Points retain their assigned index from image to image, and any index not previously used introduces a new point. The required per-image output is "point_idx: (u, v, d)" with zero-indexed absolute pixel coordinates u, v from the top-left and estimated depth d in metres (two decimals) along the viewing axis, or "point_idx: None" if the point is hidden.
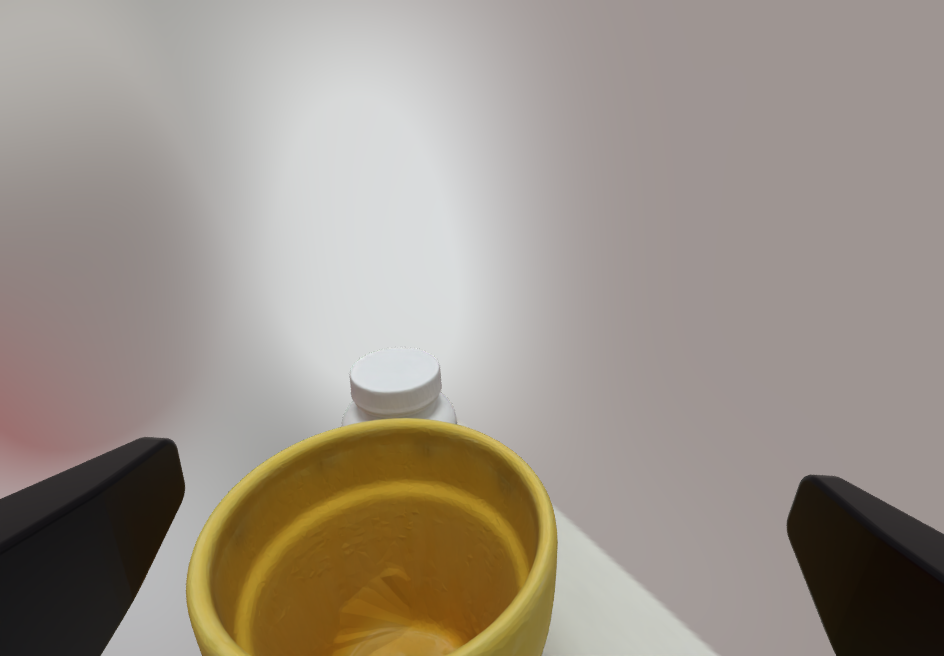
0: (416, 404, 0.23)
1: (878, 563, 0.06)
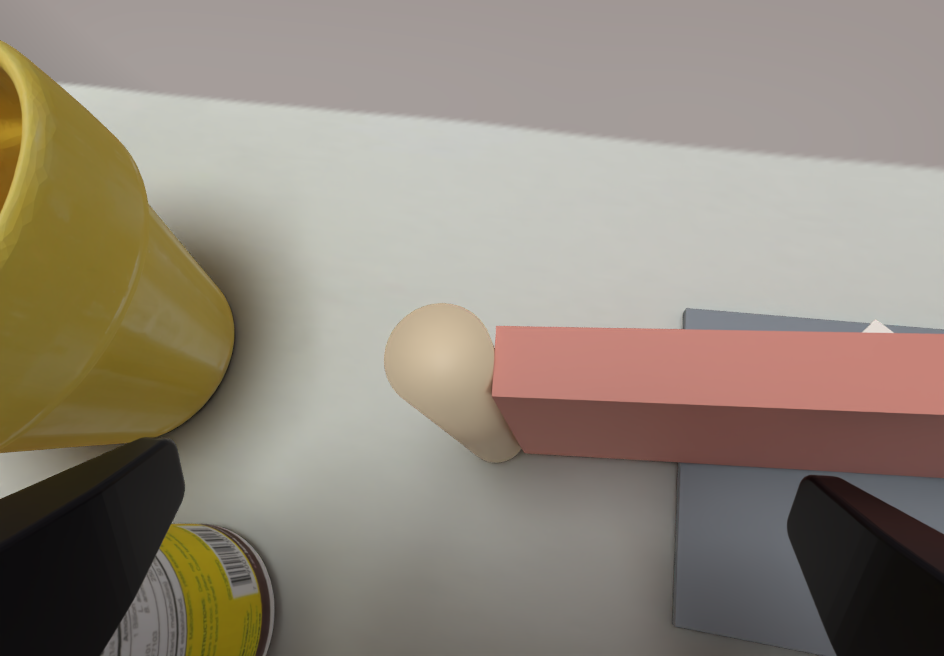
0: None
1: (878, 563, 0.06)
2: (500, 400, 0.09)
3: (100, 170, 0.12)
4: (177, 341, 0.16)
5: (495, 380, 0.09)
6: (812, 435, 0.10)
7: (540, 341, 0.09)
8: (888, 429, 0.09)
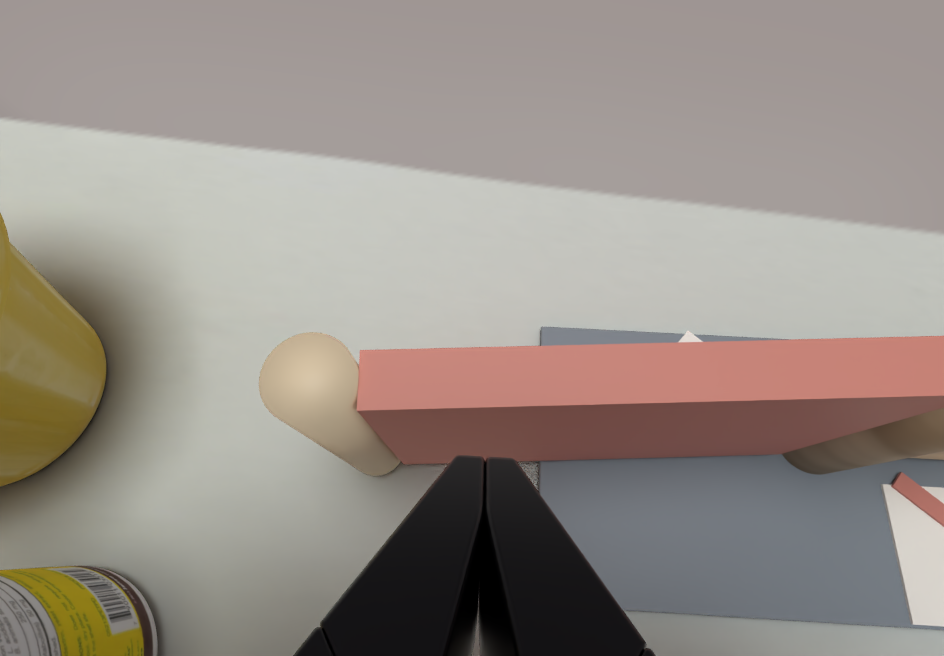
0: None
1: (485, 539, 0.06)
2: (365, 413, 0.10)
3: None
4: (43, 378, 0.15)
5: (359, 397, 0.10)
6: (621, 426, 0.12)
7: (397, 362, 0.10)
8: (669, 416, 0.11)
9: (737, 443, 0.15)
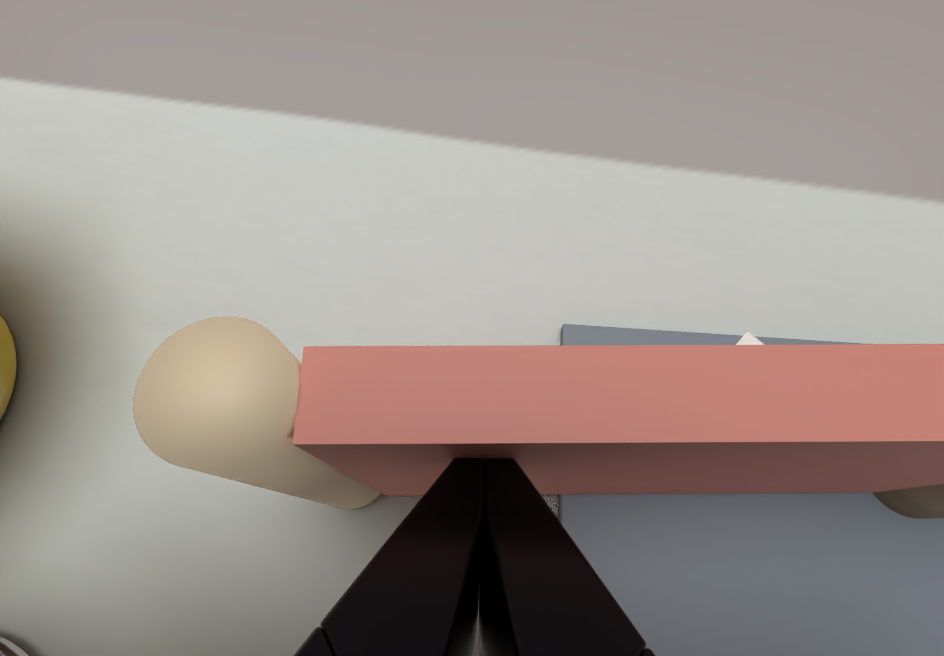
0: None
1: (485, 539, 0.06)
2: (308, 448, 0.06)
3: None
4: None
5: (298, 421, 0.06)
6: (696, 466, 0.08)
7: (362, 365, 0.07)
8: (777, 457, 0.07)
9: (834, 483, 0.11)
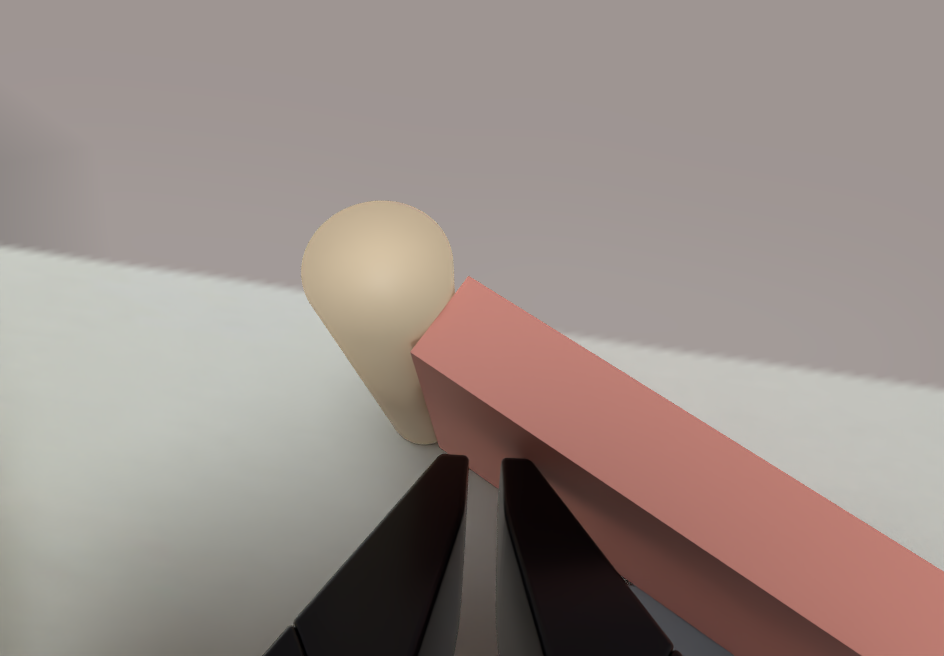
0: None
1: (504, 541, 0.06)
2: (419, 364, 0.07)
3: None
4: None
5: (426, 336, 0.06)
6: (756, 625, 0.07)
7: (507, 322, 0.06)
8: None
9: None
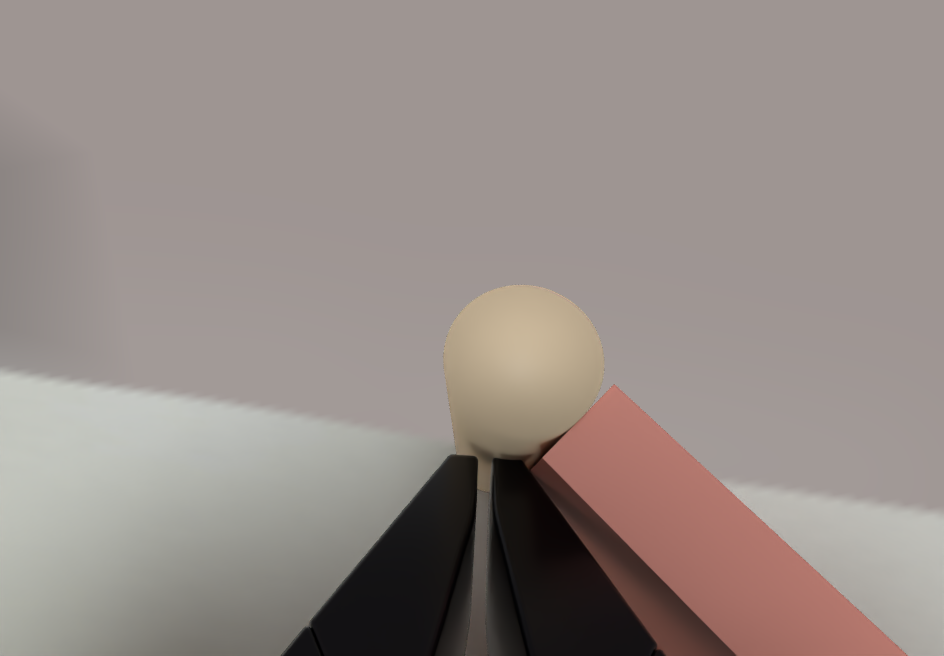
0: None
1: (492, 540, 0.06)
2: (545, 468, 0.06)
3: None
4: None
5: (561, 443, 0.06)
6: None
7: (650, 446, 0.06)
8: None
9: None
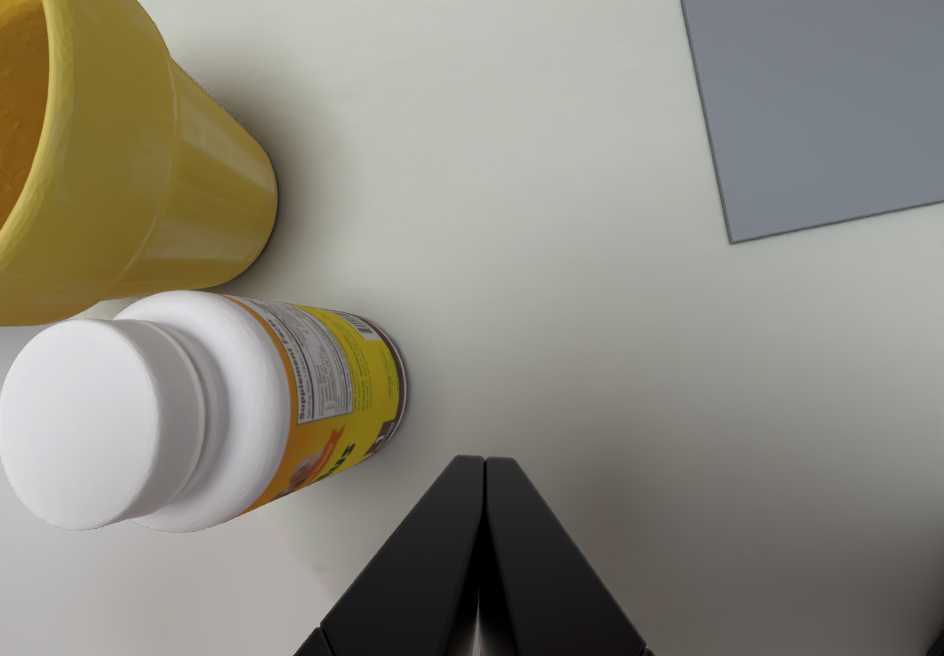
0: None
1: (485, 539, 0.06)
2: None
3: None
4: (229, 159, 0.17)
5: None
6: None
7: None
8: None
9: None
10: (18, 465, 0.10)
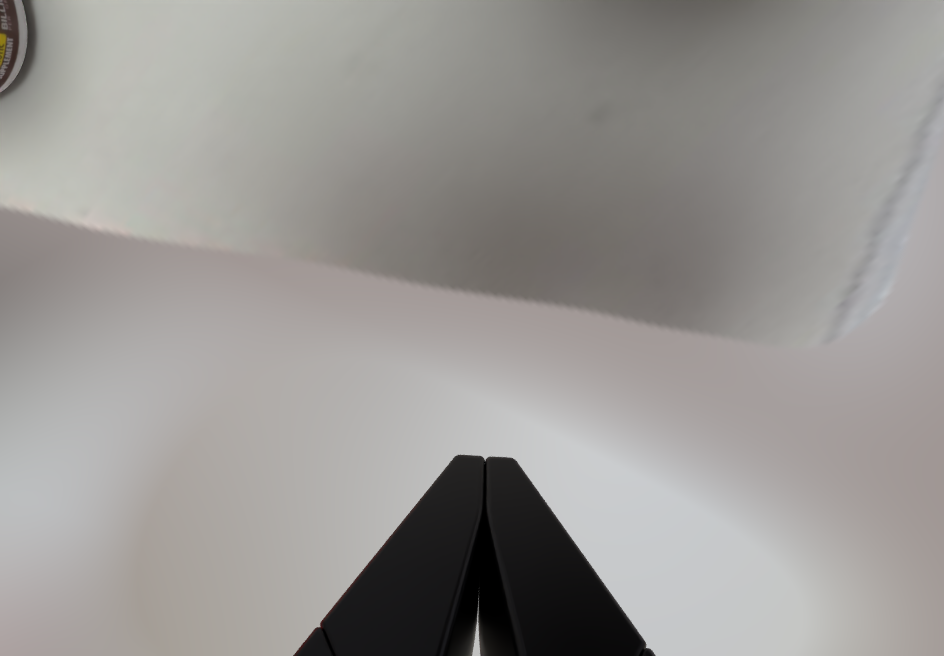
0: None
1: (484, 539, 0.06)
2: None
3: None
4: None
5: None
6: None
7: None
8: None
9: None
10: None
